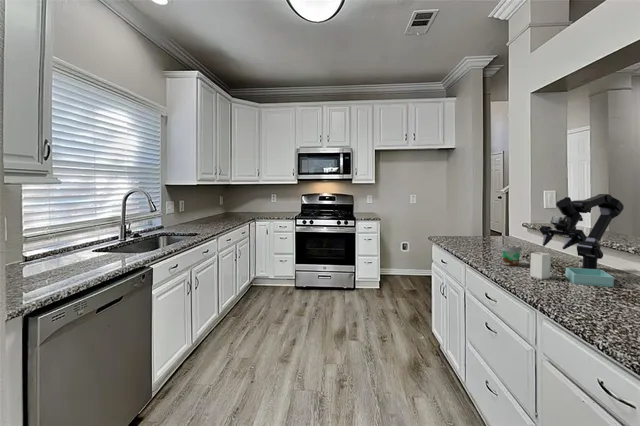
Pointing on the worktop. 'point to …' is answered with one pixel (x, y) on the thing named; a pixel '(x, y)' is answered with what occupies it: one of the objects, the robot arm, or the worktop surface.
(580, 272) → the crate
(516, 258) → the food container
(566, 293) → the worktop surface
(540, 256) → the white hollow square box
